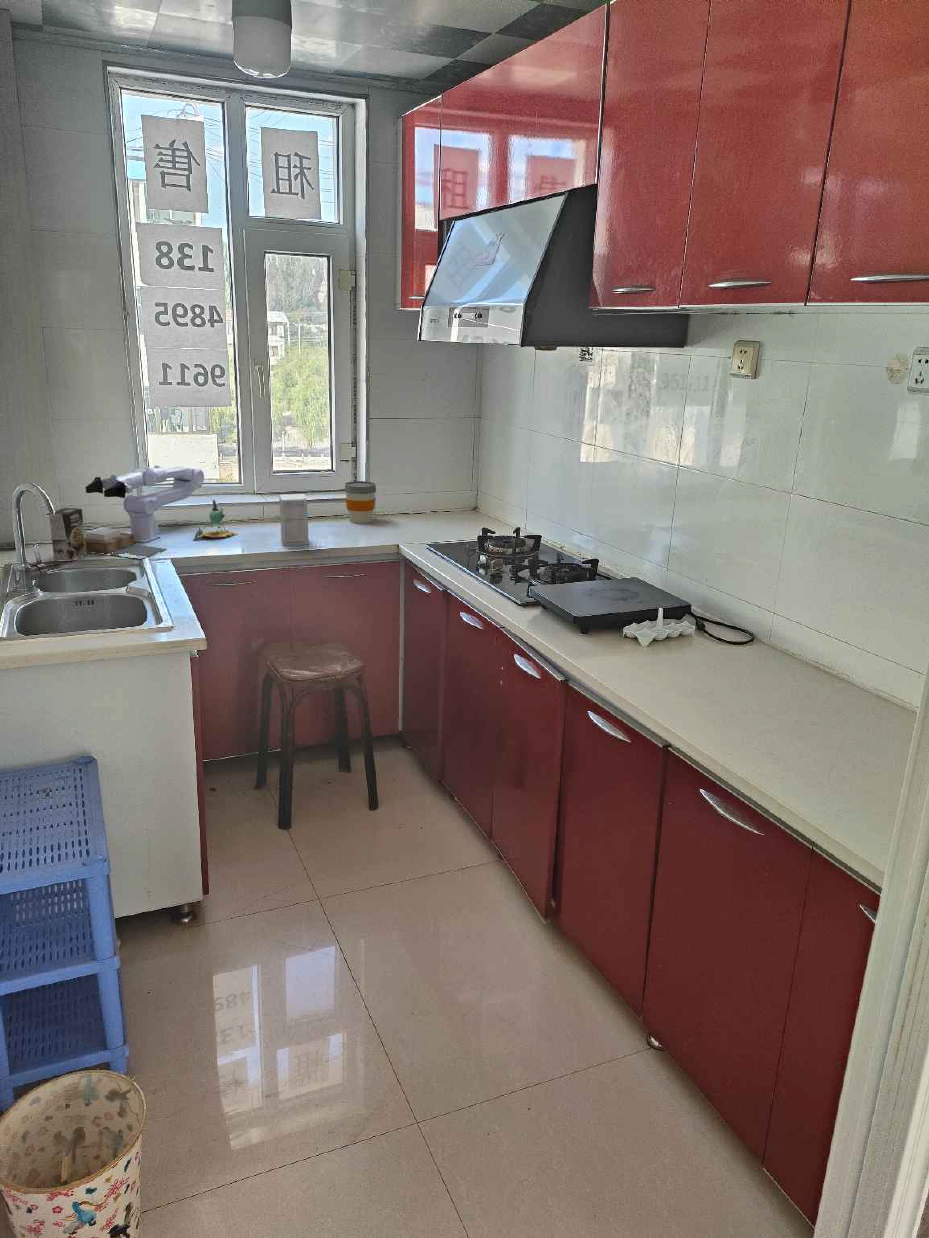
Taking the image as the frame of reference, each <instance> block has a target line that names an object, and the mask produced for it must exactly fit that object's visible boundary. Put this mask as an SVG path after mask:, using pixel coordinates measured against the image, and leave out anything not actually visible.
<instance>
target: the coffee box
mask: <svg viewBox="0 0 929 1238" xmlns="http://www.w3.org/2000/svg"><path fill="white" fill-rule="evenodd" d="M55 511H56V512H55V514H54V515H49V514H48V517H49V526H50V533H51V535H50V536H51V541H52V552H53V560H54V561H55V560H70V561H71V560H74V559H76V558H79V557H81V556H84V557H86V555H88V554H87V553H88V552H86V543H85V537H86V536H85V526H84V516H83V510H82V508H78V507H75V508H74V507H62V508H61V509H57V510H55Z"/></svg>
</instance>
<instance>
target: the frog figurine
mask: <svg viewBox="0 0 929 1238" xmlns="http://www.w3.org/2000/svg"><path fill="white" fill-rule="evenodd" d="M216 503H217V502H216V500H215V499H213V500H212V504H213V507H212V508H211V511H210V512H209V519H210V523H209V524H208V523H207V524H206V523H204V522H202V523H201V524H200V526H198V528H199V529H198V530H197V531H196V533H195V534H194V538H192V541H194V542H195V541H197V542H198V541H202V540H203V541H204V540H207V538H205V537H209V538H225V537H230V536H237V535H239V534H238V533H237V532H232V531H229V529H228V530H226V528H225V526H224V524H223V523H220V522H222V520H223V518H225V514H224V510H223V508H220V509H219V508H218V506H217V504H216ZM214 524H215V526H216V527H217V529H215V530H212V531H211V530H210V531H205V528H206V527H210V528H213V527H214ZM217 524H218V525H217ZM202 525H204V526H203V529H201V526H202ZM221 525H222V526H223V529H224V530H222V526H221ZM203 530H204V531H203ZM201 536H204V537H201Z"/></svg>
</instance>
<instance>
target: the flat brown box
mask: <svg viewBox="0 0 929 1238" xmlns="http://www.w3.org/2000/svg"><path fill="white" fill-rule="evenodd" d="M135 542H136V541H134V534H131V533H125V532H121V536H118V537H115V538H111V539H108V540H105V541H104V540H97V539H90V538H86V536H85V543H86V552H87V553H89V552H95V553H94V554H96V553H104V554H109V553H112V552H116V551H118V550H121V549H124V548H127V547H130V546H133V545H136V544H135Z"/></svg>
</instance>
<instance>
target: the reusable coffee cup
mask: <svg viewBox="0 0 929 1238" xmlns="http://www.w3.org/2000/svg"><path fill="white" fill-rule="evenodd" d="M344 484H345V485H344V492H345V499H344V500H345V505H346V510H347V512H348V514H347V515H348V522H350V523H353V524H368V523H371V522H372V521H373V514H374V513H373V512H374V510H375V505H376V492H377V486H376V485H377V484H376V483H375V482H373V481H366V480H365V481H364V480H354V481H347V482H345V483H344Z"/></svg>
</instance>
